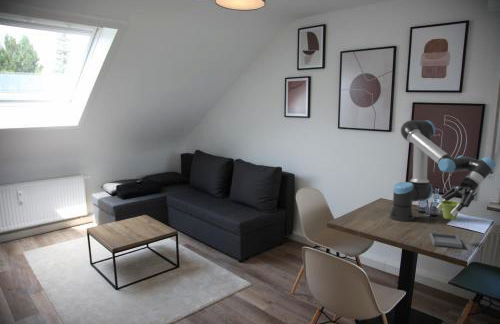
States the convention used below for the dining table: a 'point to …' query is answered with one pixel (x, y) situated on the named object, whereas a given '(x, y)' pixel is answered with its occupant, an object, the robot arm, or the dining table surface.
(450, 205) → the plant pot
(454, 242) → the tray
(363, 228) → the dining table surface
